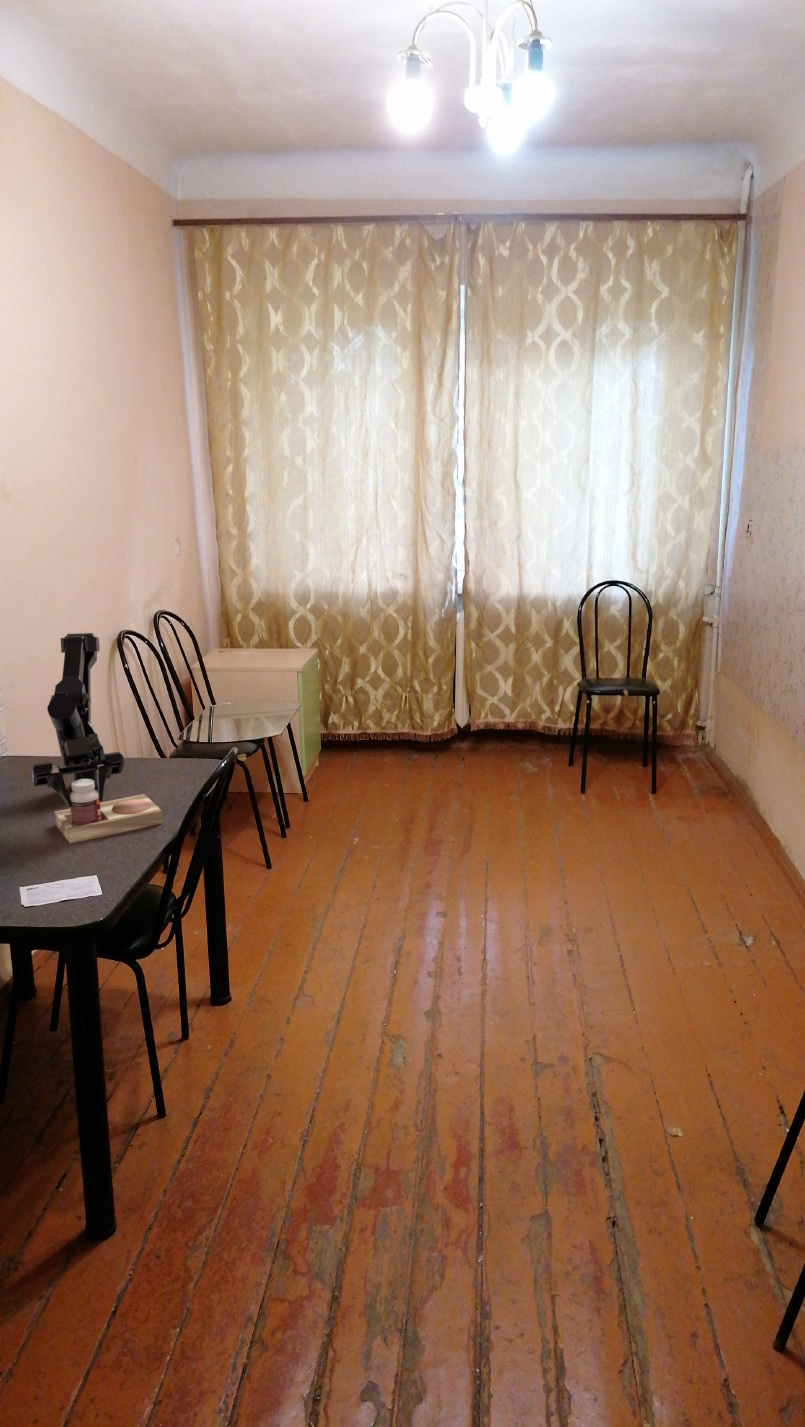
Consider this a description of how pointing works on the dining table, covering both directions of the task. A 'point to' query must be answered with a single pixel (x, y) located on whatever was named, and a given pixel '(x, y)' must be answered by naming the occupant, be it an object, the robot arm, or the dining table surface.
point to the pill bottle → (84, 803)
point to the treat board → (112, 818)
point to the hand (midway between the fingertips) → (85, 803)
